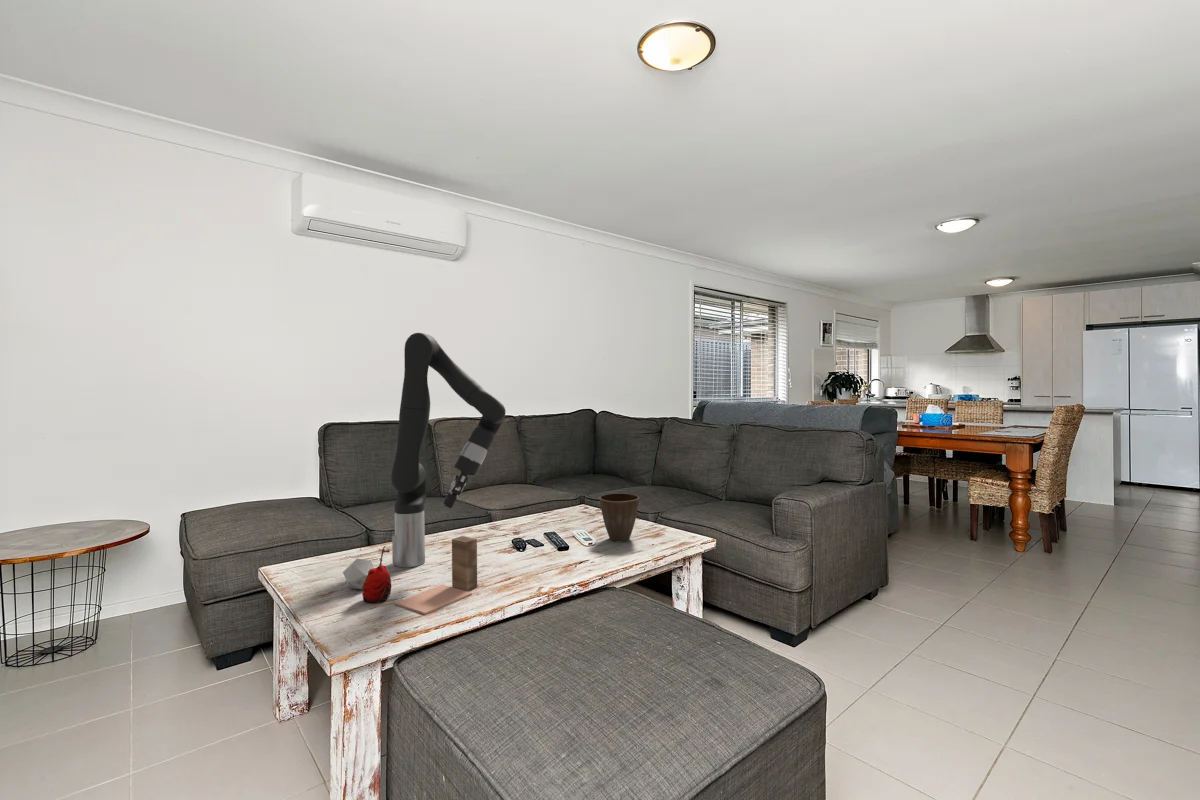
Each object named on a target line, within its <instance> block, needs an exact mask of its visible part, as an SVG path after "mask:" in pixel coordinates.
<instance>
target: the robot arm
mask: <svg viewBox="0 0 1200 800" xmlns="http://www.w3.org/2000/svg"><path fill="white" fill-rule="evenodd" d="M403 352H404V354H403V355H404V357H403V358H404V374H403V375H404V376H403V382H402V383H403V384H402V389H401V390H402V391H401V398H400V399H401V400H400V405H399V414H398V429H397V439H396V440H397V442H396V451H395V457H394V461H393V467H392V471H391V477H390V480H391V484H392V486H393V488H394V489H395V490H396V491H397V497H396V500H395V502H394V506H393V507H394V535H392V536H391V544H392V545H391V548H392V549H391V551H392V555H391V556H392V558H391V559H392V566H395V567H399V568H412V567H413V568H414V567H418V566H421V565H423V564H424V563H425V562H426V559H425V558H426V550H425V549H426V547H425V546H426V544H425V543H426V541H425V539H426V538H425V536H426V535H425V534H426V533H425V530H426V529H425V504H426V499H427V473H426V470H425V467H424V466H423V464H421V463H420V455H421V453H420V452H421V447H422V444H423V442H424V439H425V437H426V434H427V430H428V427H429V421H430V413H431V395H430V389H429V384H428V383H429V382H428V373H429V367H430V368H431V369H433V371H436V372H437V373H438V374H439V376H441V377H442V379H444V380H445V382H446V384H447V385H449V388H451V390H452V391H454V392H455V393H456V395H458V396H459V398H461V399H462V400H463V401H464V402H465V403H466V404H468V405H469V406H471V407H473V408H474V409H475V410H476V411H478V413H479V414H481V418H480V419H479V422H478V424H477V426H476V427H475V428H474V429H473V431H472V432H471V434H470V437H469V438H468V441H467V442H466V443H465V445H464V446H463V448H462V449H461V451H460V453H459V455H458V458H457V460H456V462H455V463H454V466H453V468H454V469H456V470H457V471H459V473H457V474H456V475H454V477H453V478H452V479H453V480H452V482H451V484H450V486H449V488H448V493H447V495H446V497H445V499H444V501H443V505H444V506H445V507H447V508H448V509H451V508H453V506H454V504H455V502H456V500H457V498H458V497H460V495H461V493H462V492H463V490H464V488H465V486H466V485H467V483H468V478H469V477H468V476H471V477H474V478H475V477H477V474H478V472H479V471H480V468H481V467H482V465H483V462H484V460H486V459H485V458H486V456H487V454H488V451H489V449H490V447H491V445H492V443H493V441H494V439H495V438H494V437H495V435H496V434H497V433H498V431H499V429H500V428H501V426H502V424H503V422H504V420H505V417H506V412H507V411H506V407H505V406H504V404H503V403H501V401H499V399H497V398H496V397H495V396H493V395H492V394H491V393H489V392H487V391H486V390H485V389H484V388H483V387H482V386H481V385H480V384H479V383H478V382H477V381H476V380H475V379H474V378H473V377H471V376H470V375H469V374H468V373H467V372H465V371H464V370H463V369H462V368H461V367H460V366H459V365H458V364H457V363H455V362H454V360H453V359H452V358H451V357H450V356H449V355H448V353H447V352H446V351H445V350H444V348H442V346H441V345H440V344H439V343H438V340H436V339H435V337H434V336H431V335H429V334H426V333H423V332H415V333H412V334H410V335H409V336H408V337H407V338H406V340H405V343H404V351H403Z"/></svg>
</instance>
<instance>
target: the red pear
mask: <svg viewBox="0 0 1200 800" xmlns="http://www.w3.org/2000/svg"><path fill="white" fill-rule="evenodd" d="M385 548H386V545H384V546H383V548H382V549H381V548H378V550H379V551H380V552H381V555H380V558H379V565H378V566H377V567H374V569H370V570H369V571H368V575H367V577H366V579H365V581H364V584H363V586H362V589H363V590H362V594H361V595H362V601H363V602H365V603H370V604H373V603H374V604H376V603H381V602H384V601H386V600H388V599H389V597H390V595H391V592H392V578H391V575H390V572H389V571H388V569H387V565H384V564H383V565H382V563H383V555H384V553H390V551H391V550H390V549H387V550H385Z"/></svg>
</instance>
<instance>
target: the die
mask: <svg viewBox="0 0 1200 800" xmlns="http://www.w3.org/2000/svg"><path fill="white" fill-rule="evenodd" d="M372 562H373V561H372V560H370V559H363V558H356V559H354V561H353V562H352V563H350V565H348V566H347V567H346V569H344V571H342V574H343V576H344V578H345V581H346V582H347V585H348V587H349V589H355V590H360V591H361V590H362V591H363V589H362V586H363V584H364V581H365V579H366V577H367V575H368V571H369V570H370V569H374V568H375V567H374V565H373V563H372Z"/></svg>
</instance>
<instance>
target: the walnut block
mask: <svg viewBox="0 0 1200 800" xmlns="http://www.w3.org/2000/svg"><path fill="white" fill-rule="evenodd" d="M451 577H452V578H451V584H452V585H451V587H453V588H457V589H460V590H464V591H467V592H470V591H472V590H473V589H476V588H478V539H477V538H475V537H469V536H465V535H461V536H458V537H457V536H456V537H454V538H452V539H451Z"/></svg>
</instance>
